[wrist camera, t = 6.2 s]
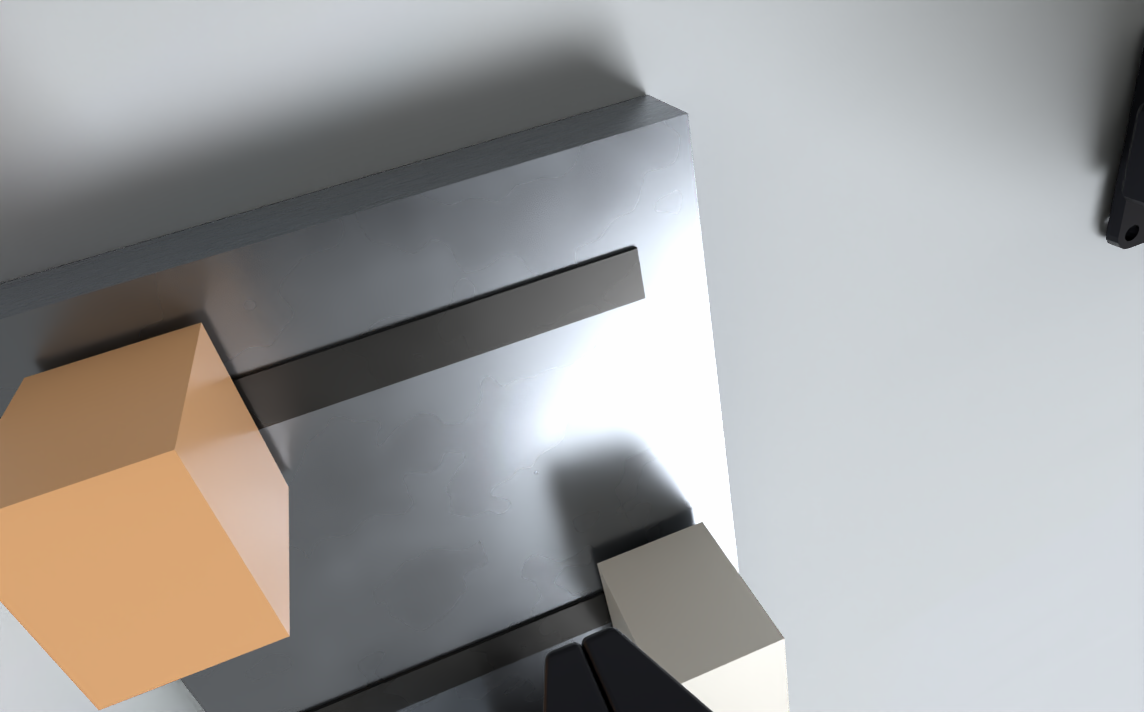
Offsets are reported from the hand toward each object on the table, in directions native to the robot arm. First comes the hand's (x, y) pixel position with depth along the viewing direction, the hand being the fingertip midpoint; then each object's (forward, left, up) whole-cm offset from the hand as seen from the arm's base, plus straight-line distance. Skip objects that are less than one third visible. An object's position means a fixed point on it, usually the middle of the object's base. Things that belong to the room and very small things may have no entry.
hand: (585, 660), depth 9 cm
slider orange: (+6, 0, -8) cm, 10 cm away
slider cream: (-3, +9, -8) cm, 13 cm away
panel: (+1, +9, -10) cm, 14 cm away
